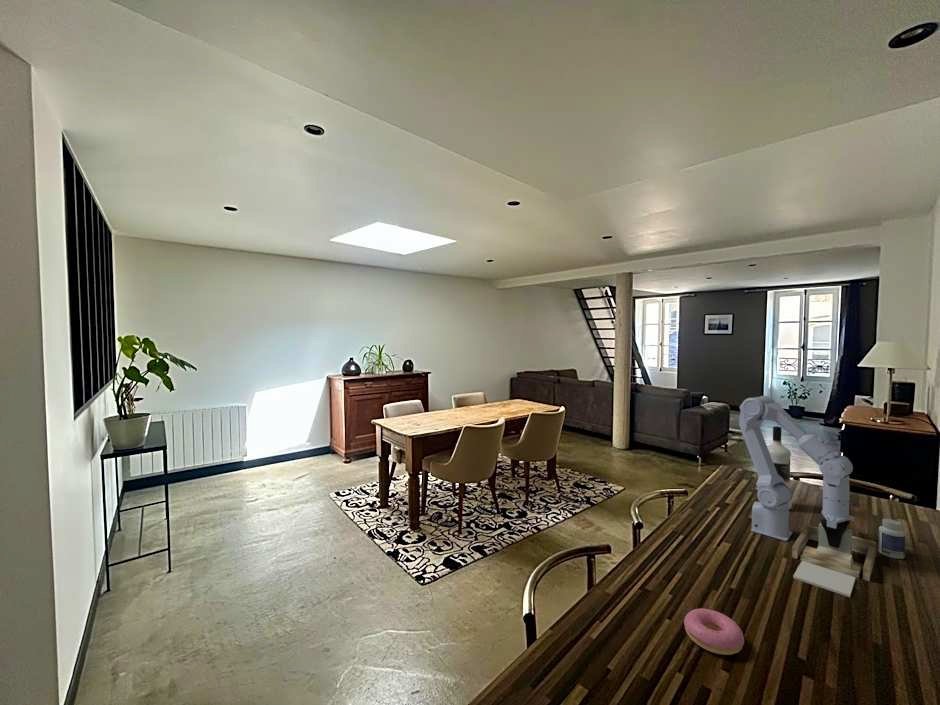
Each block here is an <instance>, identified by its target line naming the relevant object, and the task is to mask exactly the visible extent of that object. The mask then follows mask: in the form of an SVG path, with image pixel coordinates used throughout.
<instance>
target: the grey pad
mask: <svg viewBox="0 0 940 705" xmlns="http://www.w3.org/2000/svg"><path fill="white" fill-rule="evenodd" d="M800 561H801V562H800V563H799V564H798V567H797V569H796V570H795V572H794V574H793V575H792V576H793V577H792V578H793V579H795V580H798V581H800V582H803V583H805V584H809V585H812V586H815V587H818V588H821V589H824V590H827V591H830V592H834V593H835V594H839V595H842V596H844V597H847V598H851V596H852V593H853V590H854V586H855V583H856V577H853V576H850V575H847V574H844V573H840V572H837V571H834V570H831V569H828V568H824V567H821V566H818V565H815V564H812V563H808V562H805V561H802V560H800Z"/></svg>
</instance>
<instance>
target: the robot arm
mask: <svg viewBox="0 0 940 705" xmlns="http://www.w3.org/2000/svg"><path fill="white" fill-rule="evenodd" d="M738 408H739V410H740V413H739V420H738V426H739V428H740V432H741V433H742V437H743V439H744V442H745V444H746V447H747V450H748V453H749V455H750V458H751V461H752V463H753V466H754V469H755V472H756V474H757V477H758V478H757V480H756V481H757V482H756V484H755V485H756V488H757V494H756V495H757V496H756V497H757V499H758V500H759V501H754V502H753V504H752V508H751V528H750V531H751V532H754V533H756V534H761V535H764V536H767V537H771V538H773V539H774V538H775V539H778V540H781V541H785V542H787V541H788V540H789V539H790V537H791V536H792V534H793V531H791V530H790V529H789V527H790V525H789V524H790V522H789V520H790V519H789V518H790V509H789V506H788V502H789V501H791V502H792V499H793V497H794V496H793V495H794V494H793V490H792V489H791V487H790V488H789V487H788V486H787V485H786V483H785V481H784V479H783V478H782V477H781V476H779V475H778V474H777V471H776V468H775V466H774V463H773V461H772V458H771V456H770V453H769V450H768V448H767V446H768V445H767V443H766V440H765V437H764V435H763V432H762V430H761V427H760V426H761V425H762V424H763V421H764V420H767V421H772V422H775V423H776V424H778V425H779V427H781V429H784V430H785V431H786V432H787V433H788V434H789V435H791V436H792V437H793V438H794V439H796V440H797V441H798V444H797V445H798V447H799V448H800V450H802V451H803V452H804V454H806V455H807V456H808V457H809V458H810V459H811V460H812V461H814V462H815V464H817V466H819V467H818V468H819V470H820V473H821V474H822V476H823V479H822V480H823V481H822V510H821V515H822V516H823V518H822V519H820V522H821V524H822V526H823V528H824V530H825V532H826V535H827V540H828V544H829V546H831V547H835V548H839V546H840V543H841V539H842V535H843V533H844V532H845V530H846V529H848V525H849V524H850V522H851V521H853V522H854V521H855V520H856V517H855V516H853V515H850V487H851V486H850V474H852V472H853V471H854V470H853V469H854V466H853V463H852V462H851V461H850V459H849V458H848V457H846V456H844V455H841V454H840V453H839V452H838V451H835V450H833V448H831V447H830V446H829V445H828V444H827V443H826V442H825V439H824V438H823V437H822V436H821V437H819V436H817V435H815V434H809V433H808V432H807V431H806V430H805V429H804V428H803V427H802V426H801V425H800V424H799V423H798V422H797V421H796V420H795V419H794V418H793V417H792V416H791V415H790V414H789V413H788V412H787V411H786V410H784V408H783V407H782V405H781V404H780V403H778V401H777V402H776V400H774V399H773V397H770V396H768V395H760V396H755V397H748V398H747V397H746V399H744V400H743V402H742V403H741V404H740V406H739V407H738Z"/></svg>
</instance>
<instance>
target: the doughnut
mask: <svg viewBox="0 0 940 705" xmlns="http://www.w3.org/2000/svg"><path fill="white" fill-rule="evenodd" d="M683 625H684V629H685V632H686V633H687V635H688V636H689V638H690V639H691V641H693V642H694V643H695V644H696V645H698V646H699V647H701V648H702V649H703V650H706V651H708V652H711V653H713V654H716V655H722V656H732V655H734V654H737V653H739V652H741V650H742V649H743V647H744V644H745V638H744V637H745V636H744V634H743V630H741V627H740V625H738V624H737V622H736V621H734V620H733V619H731V617H729V616H727V615H725V613H721V612H719V611H717V610H713V609H709V608H702V607H700V608H694V609H691V610H690V611H689V612H688V613H687V614H686V615H685V617H684V620H683Z"/></svg>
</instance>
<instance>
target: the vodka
mask: <svg viewBox="0 0 940 705" xmlns="http://www.w3.org/2000/svg"><path fill="white" fill-rule="evenodd" d="M767 448H768V450H769V453H770V456H771V458H772V461H773V463H774V466H775V468H776V471H777V474H778V475H779V476H781V477H782V478H783V479H784V481H785V483H786V485H787V486H788V487H789V488H790V489H791V484H792V482H791V457H792V453H791V451H790V449H789V448H787V447H786V446H785V445H783V444H782V427H781V426H772V443H770V444H769V445H767ZM788 506H789V510H790V509H792V507H793V503H792V500H791V501H789V502H788Z"/></svg>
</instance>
